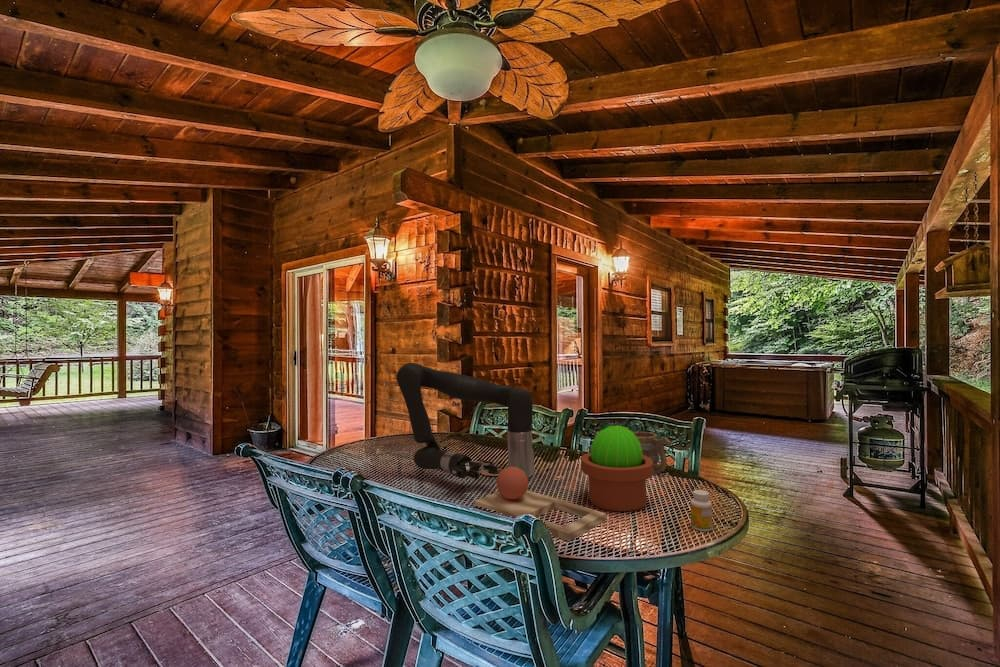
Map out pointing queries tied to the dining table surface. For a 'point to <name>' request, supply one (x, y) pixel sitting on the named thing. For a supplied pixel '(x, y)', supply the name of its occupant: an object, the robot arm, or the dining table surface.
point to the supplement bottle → (701, 511)
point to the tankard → (653, 449)
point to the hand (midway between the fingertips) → (487, 472)
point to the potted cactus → (617, 470)
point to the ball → (512, 483)
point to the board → (541, 505)
